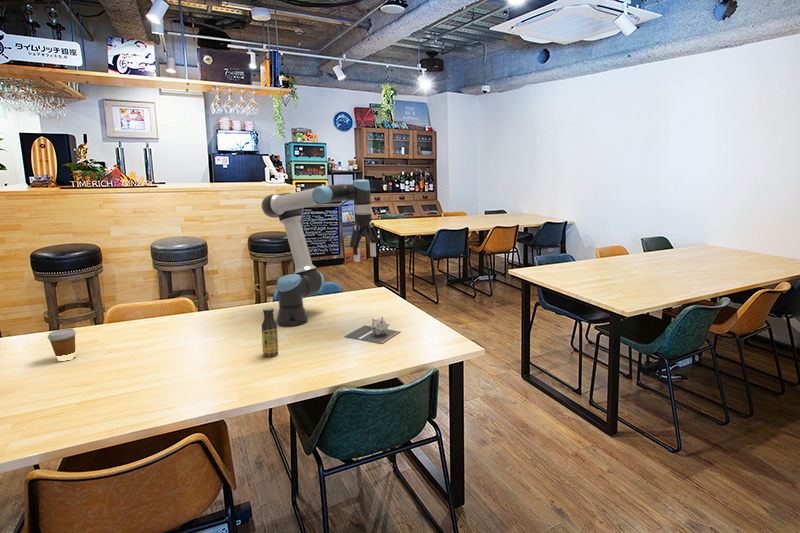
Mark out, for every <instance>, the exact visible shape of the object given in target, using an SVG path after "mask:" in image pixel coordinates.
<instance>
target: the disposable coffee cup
mask: <svg viewBox="0 0 800 533" xmlns="http://www.w3.org/2000/svg"><path fill="white" fill-rule="evenodd" d="M76 333H77V331H75V329H74V328H62V329H57V330H53V331H51V332H49V333H48V336H47V339H48V341H49V342H50V344H51V347H52V350H53V353H54V355H55V357H56V356H62V355H68V354H71V353H74V352H75V350H76Z"/></svg>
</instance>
